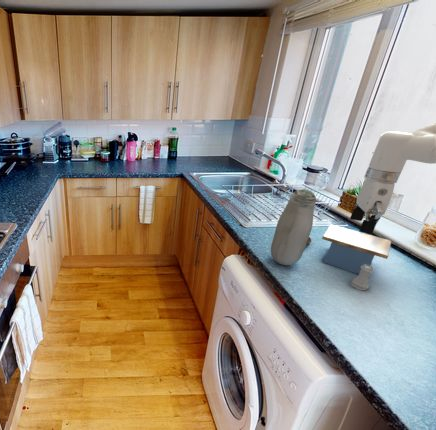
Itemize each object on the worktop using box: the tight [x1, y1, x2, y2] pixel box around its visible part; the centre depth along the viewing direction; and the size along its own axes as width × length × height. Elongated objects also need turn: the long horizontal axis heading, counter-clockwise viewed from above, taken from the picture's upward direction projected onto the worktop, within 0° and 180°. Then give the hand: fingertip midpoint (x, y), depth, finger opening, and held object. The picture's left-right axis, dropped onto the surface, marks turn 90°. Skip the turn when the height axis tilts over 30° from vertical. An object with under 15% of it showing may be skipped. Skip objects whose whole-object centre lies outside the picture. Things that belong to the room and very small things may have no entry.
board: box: [321, 223, 392, 260], centre depth 102 cm, size 18×14×1 cm
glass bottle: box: [270, 188, 317, 266], centre depth 100 cm, size 10×10×28 cm
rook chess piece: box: [350, 264, 374, 291], centre depth 92 cm, size 4×4×8 cm
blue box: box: [323, 242, 376, 275], centre depth 104 cm, size 12×12×9 cm
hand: (360, 225), depth 93 cm, fingers open, 9 cm apart
